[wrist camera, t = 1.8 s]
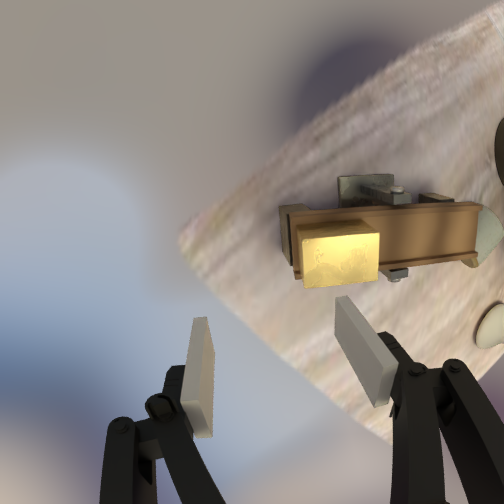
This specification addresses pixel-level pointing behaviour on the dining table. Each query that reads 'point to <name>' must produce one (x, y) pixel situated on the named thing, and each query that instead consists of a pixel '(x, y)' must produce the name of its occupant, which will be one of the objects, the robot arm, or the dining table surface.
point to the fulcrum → (361, 195)
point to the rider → (337, 253)
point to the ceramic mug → (485, 236)
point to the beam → (406, 231)
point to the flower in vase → (491, 328)
